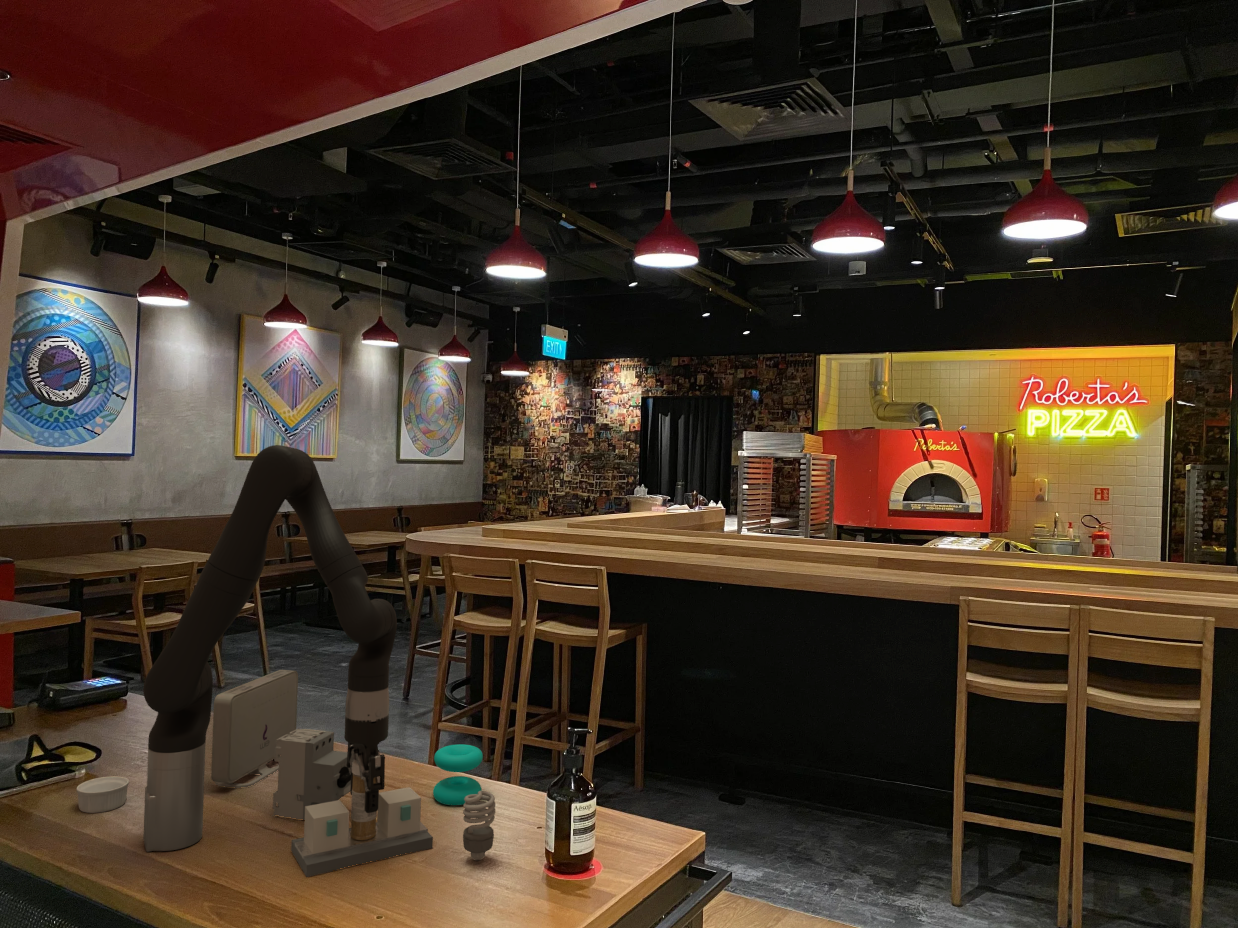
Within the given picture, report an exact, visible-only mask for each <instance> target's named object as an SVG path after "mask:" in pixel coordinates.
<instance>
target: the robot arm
mask: <svg viewBox="0 0 1238 928" xmlns="http://www.w3.org/2000/svg"><path fill="white" fill-rule="evenodd" d="M323 485H324V484H323V483H322V479H321V477H320V474H319V471H318V469H317V467H316V464H315V461H314V460H313V459H312V457H311V456H310V454H308V453H307V452H306V451H304V450H301V449H299V448H295V447H291V446H286V445H282V444H281V445H280V444H275V445H269V446H267V447H265V448H263V449H261V450H260V451H259V452H258V453H257V454H256V456H255V457H254V459H252V462H251V463H250V467H249V469H248V471H247V474H246V477H245V480H244V483H243V485H242V487H241V491H240V493H239V495H238V498H237V500H236V504H235V506H234V508H233V511H232V513H231V515H230V516H229V519H228V521H227V522H226V524H225V526H224V527H223V530H222V532H221V534H220V535H219V536H220V537H219V538H218V540H217V542H216V544H215V546H214V547H213V550H212V552H211V553H210V555H209V557H208V558H207V561H206V563H205V564H204V566H203V569H202V571H201V573H200V575H199V577H198V578H197V582H196V584H195V587H194V588H193V590H192V592H191V595H190V596H189V599H188V600H187V603H186V605H185V607H184V609H183V611H182V614H181V616H180V619H179V621H178V622H177V625H176V628H175V629H174V630H173V633H172V635H171V637H170V639H169V640H168V641H167V643H166V644H165V646H164V647H163V649H162V650H161V652H160V654H159V655H158V657H157V659H156V660H155V661H154V663H153V665H152V666H151V668H150V669H149V671H148V673H147V674H146V677H145V679H144V683H143V697H144V700H145V702H146V705H147V706H148V707H149V708H150V709H152V710H153V711H154V712H156V713H157V715H156V719H155V721H154V724H153V725H152V728H151V729H150V731H149V734H148V742H147V743H148V744H147V745H148V746H147V747H148V748H147V767H146V768H147V769H146V770H147V772H146V786H145V788H144V808H143V810H144V812H143V837H142V838H143V839H142V840H143V843H144V848H145V852H146V853H149V852H152V851H154V852H155V851H156V852H169V851H174V850H175V851H177V850H180V849H185V848H187V847H190V846H192V845H194V844H195V845H196V843H198V842H200V840H201V839H202V838H203V827H204V799H205V797H204V795H205V793H204V792H205V773H206V772H205V767H206V766H205V765H206V744H207V743H206V740H207V739H206V738H207V731H208V728H209V725H210V721H211V716H212V715H211V713H212V704H213V703H212V702H213V701H212V700H213V689H214V688H213V687H214V686H213V685H214V683H213V682H214V681H213V671H212V668H211V666H210V663H209V658H210V656H211V654H212V651H213V650H214V648H215V646H216V645H217V643H218V641H220V639H221V638H222V636H223V635H224V633H226V631H227V630H228V629H229V627H230V626H231V625H232V624H233V622H234V621H235V620H236V618H237V617H238V615H240V613H241V612H242V610H243V609H244V607H245V606H246V604H247V602H248V601H249V599H250V597H251V595H252V594H253V591H254V589H255V587H256V585H257V583H258V581H259V579H260V578H261V575H262V573H263V571H264V567H265V562H266V557H267V547H268V540H269V539H268V538H269V534H270V529H271V527H272V524H273V523H274V520H275V518H276V516H277V514H278V512H279V511H280V508H281V507H282V505H283V503H284V502H285V500H286V501H287V503H288V504H289V506H291V508H292V509H293V510H294V512H295V514H296V515H297V517H298V519H299V521H300V522H301V525H302V527H303V530H304V533H305V536H306V540H307V544H308V549H309V552H310V555H311V558H312V560H313V563H314V565H315V567H316V569H317V571H318V572H319V574H320V575H319V576H321V578H322V580H323V582H324V584H325V585H326V587H327V588H328V590H329V592H330V593H331V597H332V601H333V605H334V608H335V611H336V615H337V618H338V621H339V624H340V627H341V628H342V630H343V632H344V633H345V634H346V636H347V637H348V638H349V639H350V640H352V641H353V642H355V643H357V644H358V645H357V650H356V652H355V653H354V654H353V655H352V657H351V658H350V659H349V663H348V673H347V692H346V698H345V711H344V713H345V714H344V740H345V741H346V742H347V751H346V752H347V768H350V770H349V773H350V775H351V789H350V792H349V794H350V795H351V796H352V787H353V773H352V763H353V761H354V760H356V761H357V764H358V765H359V771H360V777H361V779H362V780H364V784H365V790H366V791H365V811H366V813H371V812H376V811H377V812H378V801H379V793H380V791H383V790H385V783H386V782H385V780H386V779H385V776H386V775H385V772H386V771H385V770H386V767H385V766H386V763H385V762H386V756H385V754H381V753H380V749H379V746H378V745H379V744H380V743H382V742H384V741H385V740H387V738H388V737H389V720H390V719H389V718H390V717H389V716H390V691H389V682H390V681H389V679H390V678H389V677H390V659H391V655H392V652H393V647H394V643H395V639H396V634H397V628H398V618H397V614H396V613H397V612H396V611H395V610H396V609H395V608H394V606H393V604H392V603H390V602H389V601H388V600H385V599H382V598H374V599H371V598H370V597H369V594H368V591H367V588H366V585H367V584H368V581H369V577H368V573H367V571H366V569H365V568H364V566H363V564H362V562H361V560H360V559H359V557H358V555H357V554H356V551H355V550H354V548H353V546H352V545H351V544H350V541H349V539H348V538H347V536H346V535H345V533H344V531H343V528H342V526H341V525H340V523H339V520H338V519H337V516H336V515H335V512H334V510H333V508H332V506H331V502H330V501H329V498H328V496H327V493H326V491H325V488H324V486H323ZM368 770H369V772H365V771H368ZM368 778H369V779H368ZM374 778H375V782H376V783H374V784H373V779H374Z"/></svg>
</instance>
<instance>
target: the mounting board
mask: <svg viewBox="0 0 1238 928" xmlns="http://www.w3.org/2000/svg"><path fill="white" fill-rule="evenodd" d="M376 826H377V821H376ZM349 831H351V827H349ZM290 841H291V844H290V851H292V852H291V853H293V854H292V855H293V857H294V856H295V857H294V858H296V859H295V860H296V862H297V863H298V866H299V867H300V868H301V871H302V872H303V874H304V876H305V877H306V878H309V877H313V876H317V875H318V876H319V875H321V874H325V873H330V872H334V871H333V870H335V871H338V870H337V869H340V868H344V867H348V866H352V865H356V864H361V865H363V864H362V863H366V862H370V861H374V862H377V861H376V860H379V861H382V860H381V859H383V860H386V859H385V858H387V859H390V858H389V857H392V858H394V857H393V856H396V855H400V854H401V855H400V856H403V855H402V854H405V853H409V854H411V853H410V852H413V853H417V852H416V851H418V852H421V851H420V850H422V851H425V850H426V851H427V850H430V849H433V846H434V836H433V835H432V834H431V833H430V832H429V831H428V832H425V833H420V834H416V835H411V836H407V837H402V838H397V839H393V840H388V841H384V842H379V843H375V844H370V845H365V846H361V847H356V848H352V849H347V850H343V851H338V852H333V853H329V854H324V855H320V856H315V857H311V858H306V859H303V858H302V856H301V855H300V853H299V851H298V850H297V848H296V846H295V842H300V841H304V836H303V837H298V838H294V839H291V840H290ZM405 855H406V854H405ZM396 857H397V856H396ZM370 863H371V862H370ZM366 864H367V863H366ZM348 868H349V867H348ZM344 869H345V868H344ZM340 870H341V869H340Z"/></svg>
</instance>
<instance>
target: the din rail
mask: <svg viewBox="0 0 1238 928" xmlns="http://www.w3.org/2000/svg"><path fill="white" fill-rule="evenodd" d="M425 832H429V828H428V827H426V825H425V824H424V823H423V822H421V821H420V831H417V832H412V833H408V834H403V835H398V836H394V837H389V838H387V836H386V835H385V834H384V833H383V832H382V831H381V829H380V828H379V827H378V826H376V835H375V836H374V837H372V838H370V839H367V840H355V839H353V838H351V836H350V833H351V831H349V837H348V847H343V848H339V849H334V850H329V851H325V852H320V853H316V854H312V853H311V851H310V849H309V848H308V846H307V845H306V843H305V842H304V841H300V842H295V846H296V848H297V850H298V851H299V853H300V855H301V856H302V858H303V859H306V858H311V857H315V856H320V855H324V854H329V853H333V852H338V851H343V850H347V849H352V848H356V847H361V846H365V845H370V844H375V843H379V842H384V841H388V840H393V839H397V838H402V837H407V836H411V835H416V834H420V833H425Z"/></svg>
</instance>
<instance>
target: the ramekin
mask: <svg viewBox="0 0 1238 928" xmlns="http://www.w3.org/2000/svg"><path fill="white" fill-rule="evenodd" d="M129 784H130V779H129V778H127V777H126V776H117V775H115V776H113V775H112V776H109V775H108V776H102V777H101V776H100V777H96V778H93V779H89V780H86V781H84V782H82V783H80V784H78V786H77V787H76V793H77V800H78V801H77V802H78V809H79V811H81V812H83V813H88V814H97V813H98V814H99V813H104V812H109V811H113V810H115V809H118V808H120V807H122V806H123V805H124V804H125V803H126V801H127V795H128V787H129Z"/></svg>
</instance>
